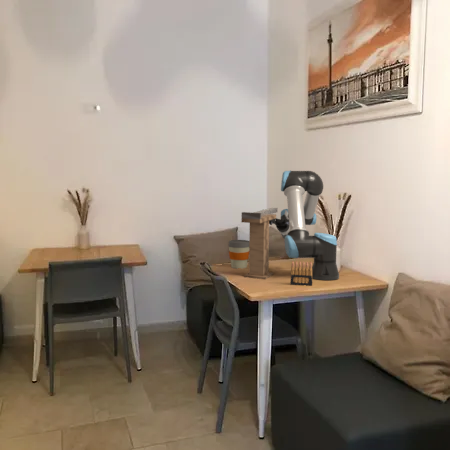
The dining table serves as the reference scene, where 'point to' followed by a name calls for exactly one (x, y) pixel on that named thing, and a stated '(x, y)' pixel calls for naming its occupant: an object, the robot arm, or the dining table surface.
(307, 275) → the ammunition clip
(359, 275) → the dining table surface
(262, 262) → the stand
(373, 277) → the dining table surface
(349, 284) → the dining table surface
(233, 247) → the reusable coffee cup
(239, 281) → the dining table surface
